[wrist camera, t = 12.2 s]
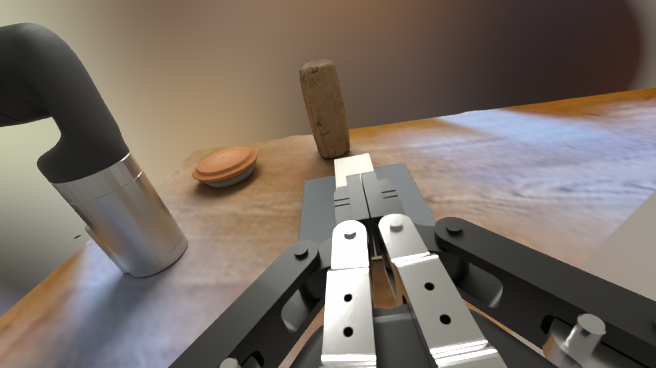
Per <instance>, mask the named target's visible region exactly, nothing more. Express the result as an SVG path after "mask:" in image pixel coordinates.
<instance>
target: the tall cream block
mask: <svg viewBox="0 0 656 368" xmlns="http://www.w3.org/2000/svg"><path fill="white" fill-rule="evenodd" d="M334 164H335V178H336V189H337V187H341V186H347V181H346V176H349V175H354V174H360V178H361V173H365V172H371V171H374V169H373V166H372V163H371V159H370V156H369V153H368V154H362V155H357V156H352V157H346V158H341V159H335V160H334ZM361 182H362V180H361ZM362 187H363V186H362ZM373 244H374V241H373ZM374 251H375V257H372V260H375V259H381V258H382V256H377V255H376V250H375V246H374Z"/></svg>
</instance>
